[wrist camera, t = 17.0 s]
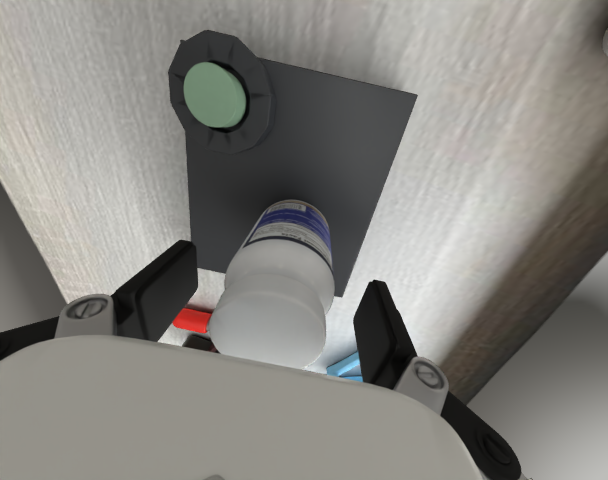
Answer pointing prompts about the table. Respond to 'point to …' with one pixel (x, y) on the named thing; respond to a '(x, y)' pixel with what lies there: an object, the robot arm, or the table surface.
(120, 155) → the table surface
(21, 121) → the table surface
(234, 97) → the button
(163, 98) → the table surface
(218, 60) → the dark grey button base
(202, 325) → the toy gun
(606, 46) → the lightbulb
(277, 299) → the pill bottle
